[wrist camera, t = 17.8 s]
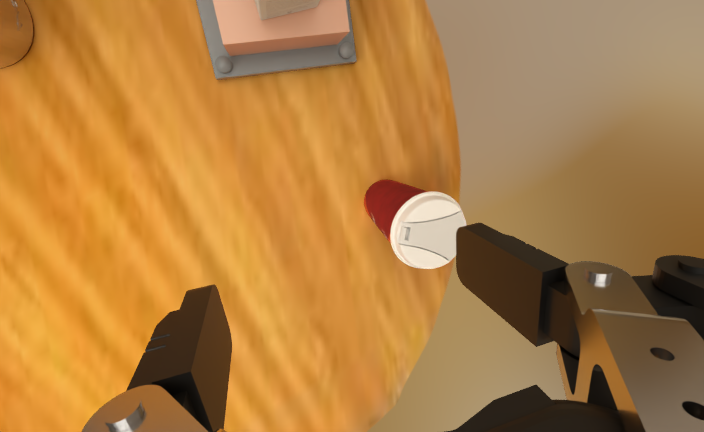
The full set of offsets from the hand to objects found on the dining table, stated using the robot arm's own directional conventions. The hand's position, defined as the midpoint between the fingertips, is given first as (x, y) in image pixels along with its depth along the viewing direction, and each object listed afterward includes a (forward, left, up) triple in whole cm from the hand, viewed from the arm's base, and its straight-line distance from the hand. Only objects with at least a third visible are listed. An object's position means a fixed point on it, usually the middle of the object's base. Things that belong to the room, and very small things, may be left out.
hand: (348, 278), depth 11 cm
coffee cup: (+12, -8, -33) cm, 36 cm away
